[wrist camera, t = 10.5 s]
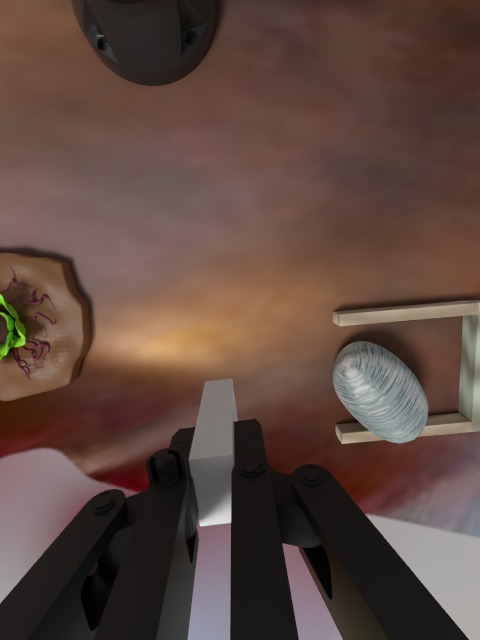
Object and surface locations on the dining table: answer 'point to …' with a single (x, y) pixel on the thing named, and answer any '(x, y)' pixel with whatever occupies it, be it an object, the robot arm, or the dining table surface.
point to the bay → (475, 371)
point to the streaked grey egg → (380, 392)
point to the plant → (39, 325)
